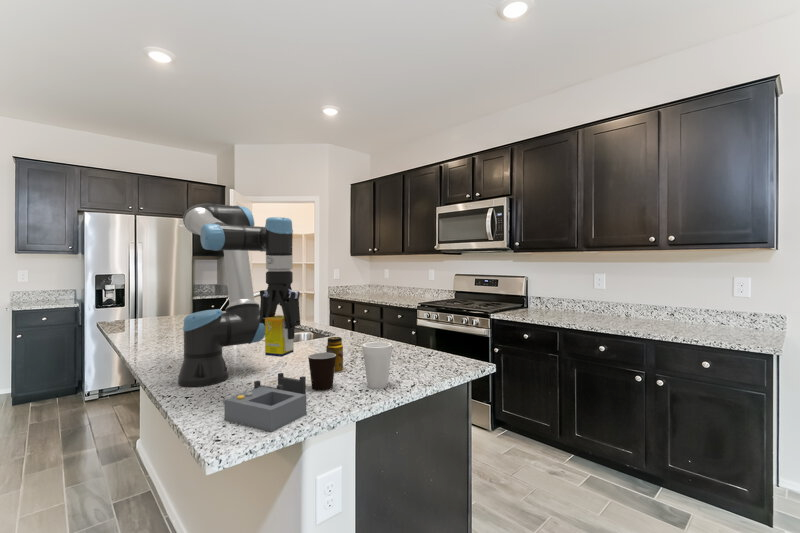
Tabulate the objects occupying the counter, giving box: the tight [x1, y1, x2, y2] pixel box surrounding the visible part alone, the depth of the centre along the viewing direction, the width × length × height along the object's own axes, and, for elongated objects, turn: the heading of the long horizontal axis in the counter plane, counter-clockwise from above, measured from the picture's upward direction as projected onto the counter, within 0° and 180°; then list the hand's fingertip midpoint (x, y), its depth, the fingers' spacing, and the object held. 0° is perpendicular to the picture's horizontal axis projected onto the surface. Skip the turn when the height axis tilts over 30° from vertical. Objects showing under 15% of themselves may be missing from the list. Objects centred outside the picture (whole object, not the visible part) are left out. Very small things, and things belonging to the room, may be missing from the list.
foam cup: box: [361, 341, 393, 389], centre depth 124 cm, size 10×9×13 cm
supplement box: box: [264, 314, 295, 358], centre depth 114 cm, size 6×6×11 cm
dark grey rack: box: [253, 372, 307, 395], centre depth 114 cm, size 10×10×5 cm
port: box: [223, 385, 308, 432], centre depth 99 cm, size 16×12×6 cm
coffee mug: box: [307, 352, 336, 392], centre depth 124 cm, size 12×9×10 cm
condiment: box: [325, 336, 348, 374], centre depth 142 cm, size 7×8×12 cm
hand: (279, 348), depth 114 cm, fingers closed on supplement box, 6 cm apart
